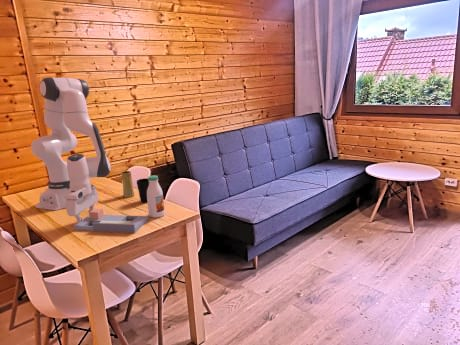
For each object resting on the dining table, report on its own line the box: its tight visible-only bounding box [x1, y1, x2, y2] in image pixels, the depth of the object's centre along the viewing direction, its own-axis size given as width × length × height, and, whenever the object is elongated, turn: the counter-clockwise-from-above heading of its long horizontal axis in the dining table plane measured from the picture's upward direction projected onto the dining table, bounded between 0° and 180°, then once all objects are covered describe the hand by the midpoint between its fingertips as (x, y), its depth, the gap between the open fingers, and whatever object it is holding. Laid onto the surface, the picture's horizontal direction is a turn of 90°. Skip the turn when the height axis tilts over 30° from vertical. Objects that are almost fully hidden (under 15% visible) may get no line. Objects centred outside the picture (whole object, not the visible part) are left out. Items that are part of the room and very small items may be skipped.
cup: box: [136, 177, 149, 204], centre depth 196 cm, size 8×8×12 cm
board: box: [73, 214, 149, 234], centre depth 167 cm, size 30×15×4 cm, turn 79°
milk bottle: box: [147, 174, 166, 219], centre depth 174 cm, size 8×8×20 cm
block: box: [88, 208, 105, 219], centre depth 172 cm, size 4×4×4 cm
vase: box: [120, 170, 135, 198], centre depth 206 cm, size 6×6×14 cm
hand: (85, 217), depth 168 cm, fingers open, 8 cm apart
